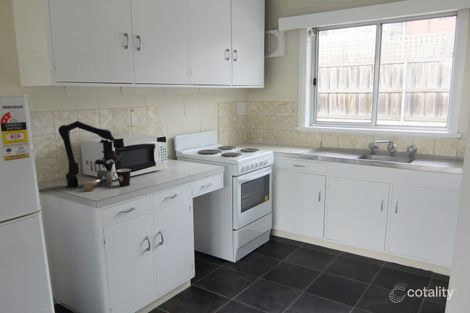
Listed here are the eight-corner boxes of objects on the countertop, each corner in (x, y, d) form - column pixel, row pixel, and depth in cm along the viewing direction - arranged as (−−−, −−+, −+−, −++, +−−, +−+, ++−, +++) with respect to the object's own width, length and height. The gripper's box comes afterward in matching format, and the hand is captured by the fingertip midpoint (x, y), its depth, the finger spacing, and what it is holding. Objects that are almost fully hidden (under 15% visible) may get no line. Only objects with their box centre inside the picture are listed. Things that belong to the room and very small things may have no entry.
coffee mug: (134, 185, 235) (133, 170, 233) (122, 187, 228) (121, 172, 227) (124, 182, 242) (123, 167, 241) (112, 184, 236) (111, 169, 234)
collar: (107, 186, 232) (106, 171, 231) (98, 185, 235) (96, 171, 233) (111, 185, 235) (110, 171, 233) (101, 183, 238) (100, 170, 236)
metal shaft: (91, 191, 221) (90, 182, 220) (84, 190, 223) (84, 182, 222) (112, 184, 238) (111, 176, 237) (106, 183, 240) (105, 175, 239)
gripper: (107, 152, 225) (109, 176, 227) (127, 147, 242) (128, 170, 244) (93, 151, 229) (95, 175, 231) (113, 147, 246) (115, 169, 248)
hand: (109, 172), depth 239 cm, fingers closed
